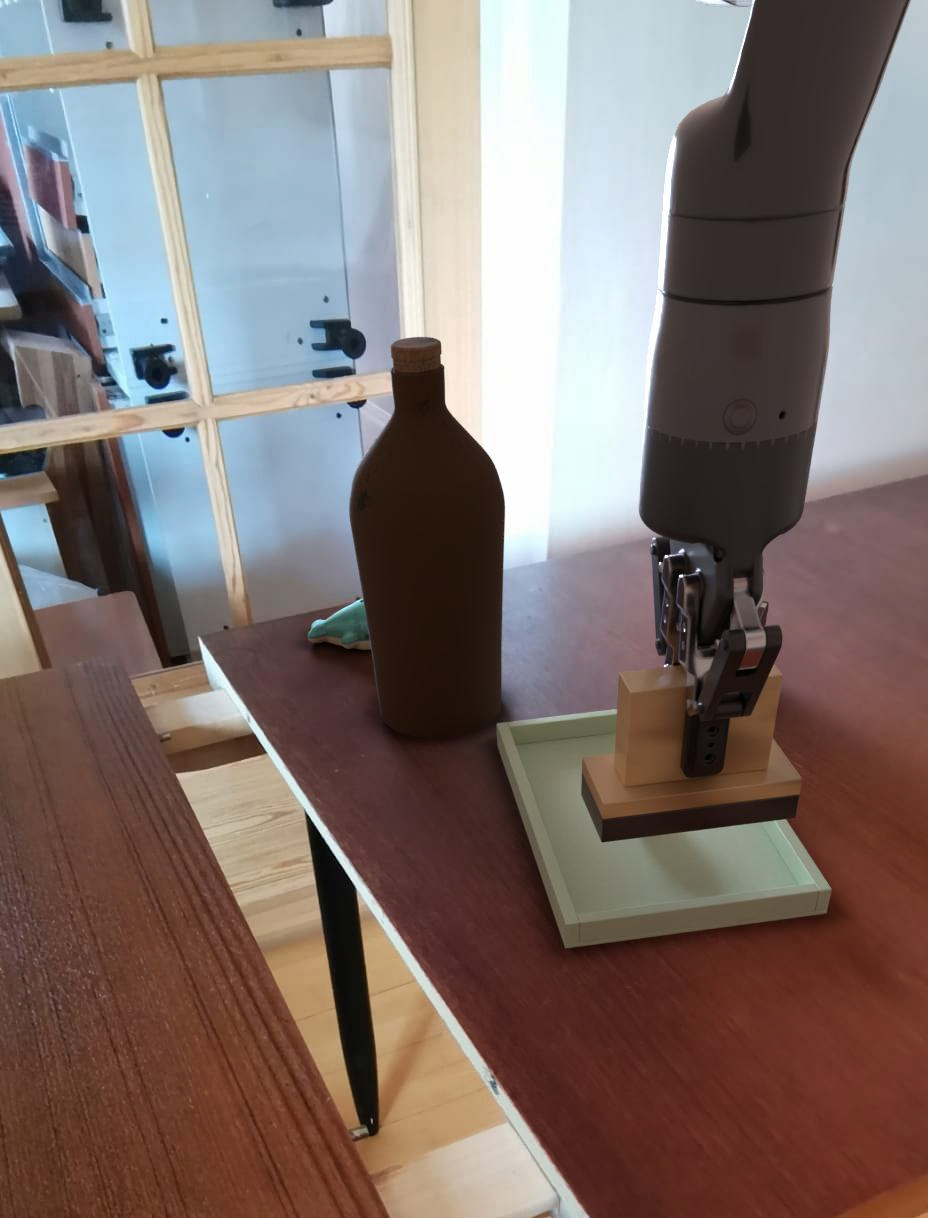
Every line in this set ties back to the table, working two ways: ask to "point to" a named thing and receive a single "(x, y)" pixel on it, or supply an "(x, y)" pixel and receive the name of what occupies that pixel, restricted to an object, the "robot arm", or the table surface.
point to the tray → (643, 850)
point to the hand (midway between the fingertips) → (692, 757)
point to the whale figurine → (343, 628)
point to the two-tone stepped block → (655, 784)
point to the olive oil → (430, 557)
